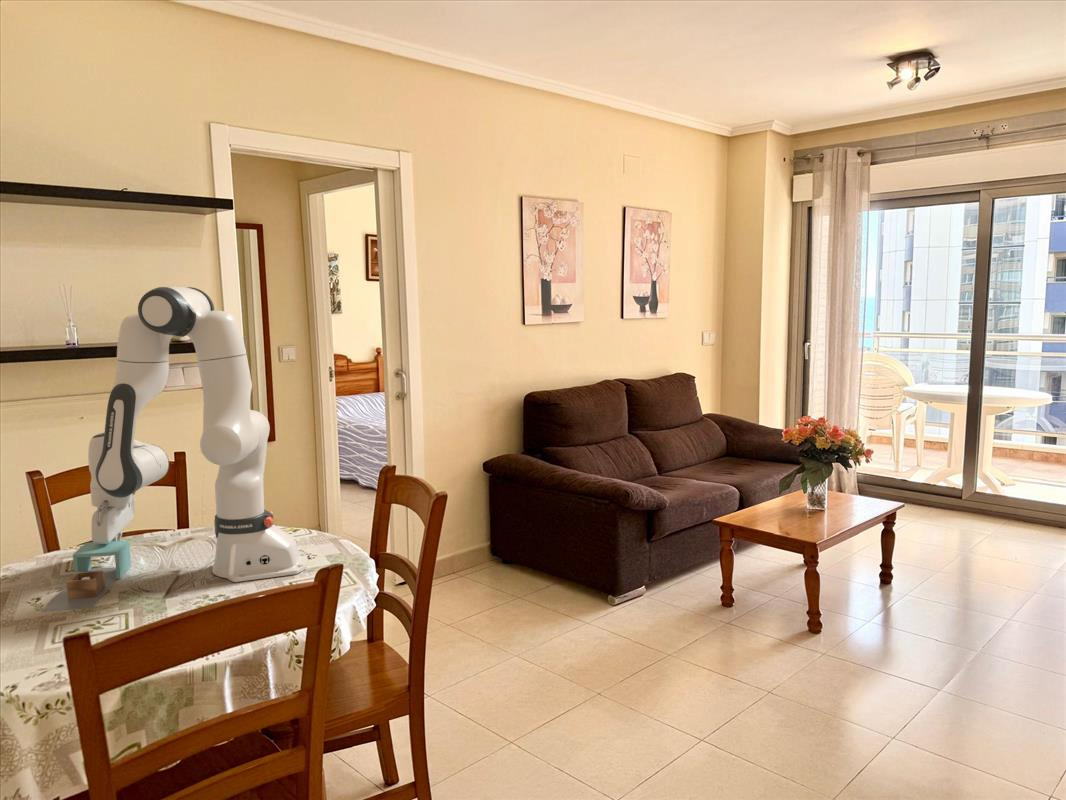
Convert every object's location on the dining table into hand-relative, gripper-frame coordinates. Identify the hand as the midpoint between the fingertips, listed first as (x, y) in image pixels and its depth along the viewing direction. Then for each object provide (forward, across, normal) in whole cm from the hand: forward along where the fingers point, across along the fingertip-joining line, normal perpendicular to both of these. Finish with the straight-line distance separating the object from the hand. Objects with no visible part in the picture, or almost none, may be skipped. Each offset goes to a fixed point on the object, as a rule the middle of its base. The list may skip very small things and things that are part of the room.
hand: (115, 549), depth 187 cm
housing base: (+4, -17, +1) cm, 17 cm away
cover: (+2, -10, 0) cm, 10 cm away
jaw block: (+3, -20, 0) cm, 21 cm away
